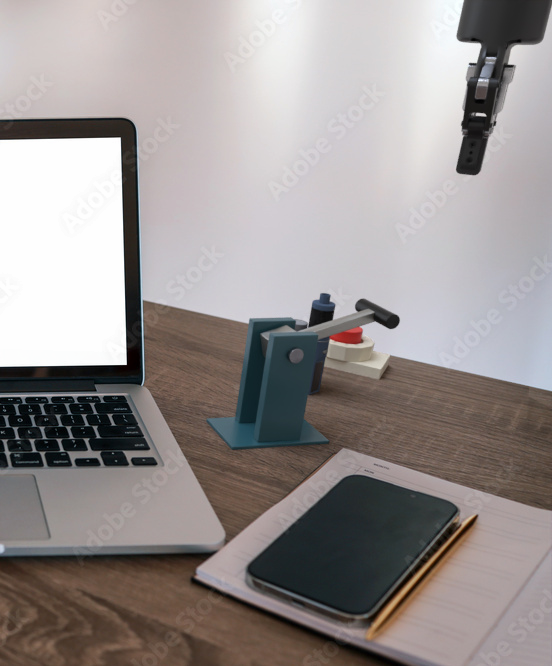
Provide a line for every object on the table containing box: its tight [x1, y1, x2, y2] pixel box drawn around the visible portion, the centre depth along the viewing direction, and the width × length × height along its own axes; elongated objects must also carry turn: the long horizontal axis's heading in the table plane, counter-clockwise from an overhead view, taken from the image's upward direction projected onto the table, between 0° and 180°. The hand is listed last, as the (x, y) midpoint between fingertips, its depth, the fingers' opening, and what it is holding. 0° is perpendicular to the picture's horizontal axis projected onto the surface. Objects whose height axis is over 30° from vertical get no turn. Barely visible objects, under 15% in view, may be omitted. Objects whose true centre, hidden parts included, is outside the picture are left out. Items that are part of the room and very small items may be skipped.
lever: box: [260, 298, 401, 358], centre depth 73 cm, size 12×5×2 cm, turn 103°
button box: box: [324, 333, 391, 381], centre depth 94 cm, size 10×6×4 cm, turn 58°
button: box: [330, 326, 364, 344], centre depth 93 cm, size 4×4×2 cm
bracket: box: [205, 316, 330, 451], centre depth 74 cm, size 10×6×12 cm, turn 103°
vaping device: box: [293, 292, 336, 396], centre depth 85 cm, size 3×5×12 cm, turn 40°
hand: (467, 173), depth 80 cm, fingers closed
